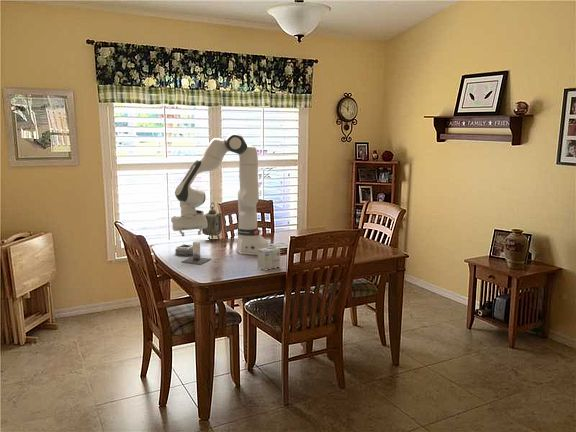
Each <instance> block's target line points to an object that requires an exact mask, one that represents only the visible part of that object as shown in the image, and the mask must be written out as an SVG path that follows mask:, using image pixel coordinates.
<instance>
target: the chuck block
mask: <svg viewBox="0 0 576 432" xmlns="http://www.w3.org/2000/svg"><path fill="white" fill-rule="evenodd" d="M174 252H175V255H176V256H180V257H192V256H193V244H186V243H185V244H184V243H183V244H181V245H178V246H176V248H175V250H174Z"/></svg>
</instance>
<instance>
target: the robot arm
mask: <svg viewBox="0 0 576 432" xmlns="http://www.w3.org/2000/svg"><path fill="white" fill-rule="evenodd" d="M229 152H232V153H235V154H237V155H238V157H239V163H238V165H239V168H238V169H239V170H238V171H239V172H238V174H239V175H238V178H239V189H238V192H237V208H238V209H237V210H238V228H237V244H236V247H235V248H236V249H235V251H236V253H239V254H240V255H251V256H252V255H253V256H258V249H262V248H268V247H270V244H269V241H268V240H267V239H266V238H265V237H264V236H262V235H261V234H260V232H261V231H262V229H261V228H260V229H259V228H258V214H257V213H258V212H257V204H258V202H259V199H260V198H259V197H260V195H259V194H260V193H259V177H258V174H259V158H258V151H257V147H255V146H254V145H251V144H247V143H246V140H245V139H244V137H243V136H242V135H241V134H239V133H236V132H234V133H230V134H229V135H227V136H226V137H225V138H223V139H222V138H220V137H214V138H213V139H211V141H210V142H209V143H208V145H207V147H206V149H205V152H203V153H204V154H203V155H202V156H201V157H200V159H197V160H195V161H194V162H193V164H192V165H191V167H190V168H189V170H188V171H187V173H186V175H185V176H184V177H183V179H182V180H181V182H180V183H179V184H178V185H177V187H176V188H175V192H174V195H175V198H176V199H177V201H179V208H180V215H175V216H172V217H171V218H170V219H171V220H170V221H171V223H172V230H173V231H174V232H177V231H178V232H179V233H180V234H181V237H185V232H183V231H191V230H197V235H198V236H200V235H201V234H202V229H204V228H207V226H208V224H207V219H206V217H205V216H204V215H205V213H204V210H200V209H197V208H199V207H200V206H202V205H203V204H204V203H205V201H206V193H205V190H203V189H200V188H198V187H193V186H191V185H192V183H193V182H194V181H195V179H196V177H197V175H199V174H200V173H204V172H205V173H206V172H213V171H214V172H215V171H216V170H217V169H219V167H220V166H221V164H222V162H223V160H224V157H225V155H226V154H227V153H229Z"/></svg>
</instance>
